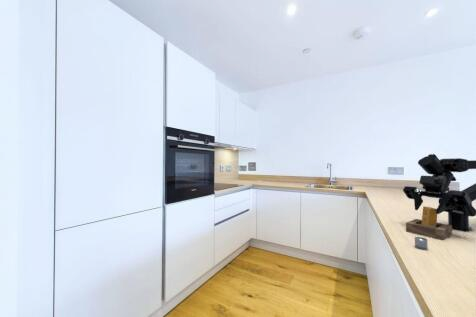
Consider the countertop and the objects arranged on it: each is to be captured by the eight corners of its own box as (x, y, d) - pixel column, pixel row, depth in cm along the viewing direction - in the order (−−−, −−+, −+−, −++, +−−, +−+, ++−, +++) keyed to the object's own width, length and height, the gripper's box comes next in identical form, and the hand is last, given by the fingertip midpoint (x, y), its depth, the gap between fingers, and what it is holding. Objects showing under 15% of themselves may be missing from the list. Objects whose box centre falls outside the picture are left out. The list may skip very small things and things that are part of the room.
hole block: (416, 226, 83) (416, 218, 83) (452, 234, 74) (451, 225, 74) (406, 231, 77) (405, 222, 77) (443, 240, 68) (443, 230, 68)
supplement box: (437, 235, 73) (438, 208, 74) (427, 233, 74) (428, 207, 74) (429, 231, 77) (431, 206, 77) (420, 230, 77) (421, 206, 77)
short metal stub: (418, 245, 64) (417, 236, 64) (429, 248, 61) (429, 239, 62) (412, 247, 63) (412, 237, 63) (424, 250, 60) (424, 241, 60)
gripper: (404, 168, 86) (389, 194, 82) (465, 169, 69) (451, 202, 65) (415, 184, 89) (401, 211, 85) (476, 189, 72) (463, 223, 67)
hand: (425, 211), depth 75 cm, fingers open, 6 cm apart
